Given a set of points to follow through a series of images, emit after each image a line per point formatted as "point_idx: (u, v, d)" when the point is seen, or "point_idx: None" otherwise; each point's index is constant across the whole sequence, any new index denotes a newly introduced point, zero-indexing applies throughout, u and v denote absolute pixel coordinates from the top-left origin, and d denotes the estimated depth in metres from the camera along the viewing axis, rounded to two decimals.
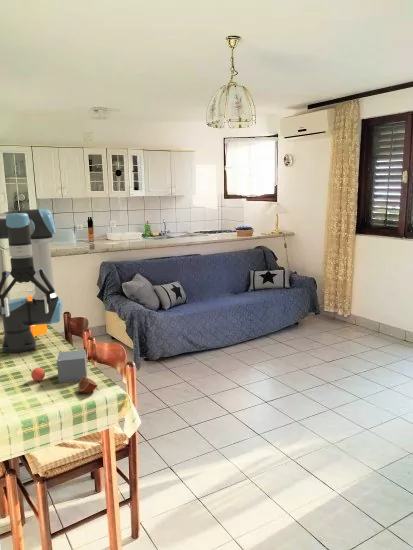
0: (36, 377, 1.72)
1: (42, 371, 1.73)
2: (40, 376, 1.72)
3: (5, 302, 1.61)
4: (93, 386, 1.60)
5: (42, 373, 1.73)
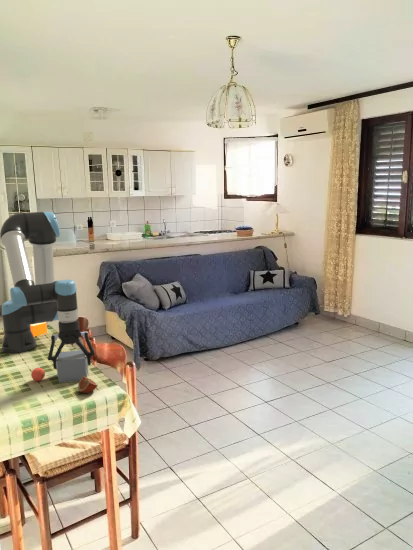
0: (36, 377, 1.72)
1: (42, 371, 1.73)
2: (40, 376, 1.72)
3: None
4: (93, 386, 1.60)
5: (42, 373, 1.73)
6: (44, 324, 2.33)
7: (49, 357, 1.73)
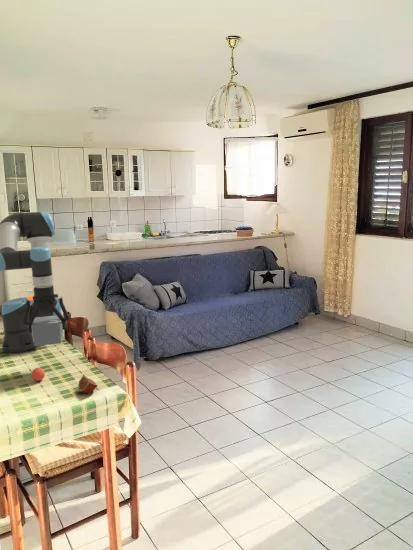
0: (36, 377, 1.72)
1: (42, 371, 1.73)
2: (40, 376, 1.72)
3: None
4: (93, 386, 1.60)
5: (42, 373, 1.73)
6: None
7: (25, 321, 1.79)
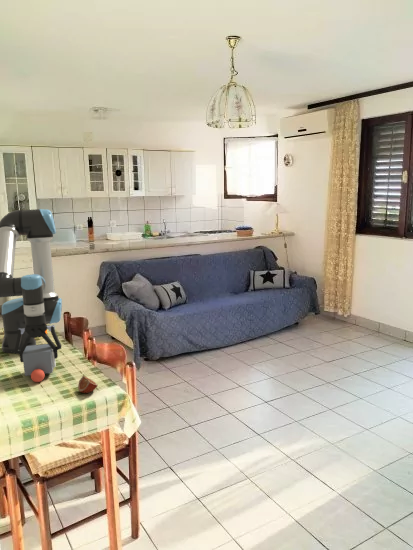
0: (36, 380, 1.71)
1: (42, 374, 1.72)
2: (40, 379, 1.72)
3: None
4: (93, 386, 1.60)
5: (42, 376, 1.72)
6: None
7: (15, 350, 1.76)
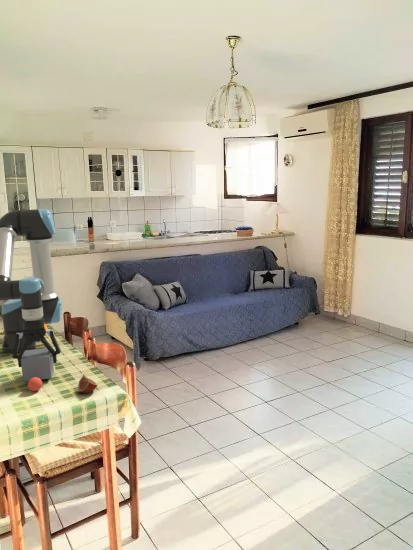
0: None
1: None
2: None
3: None
4: (93, 386, 1.60)
5: None
6: (44, 324, 2.33)
7: (14, 355, 1.72)
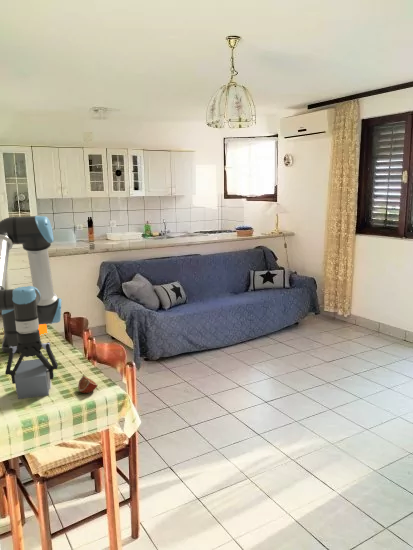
0: None
1: None
2: None
3: None
4: (93, 386, 1.60)
5: None
6: (44, 324, 2.33)
7: (7, 371, 1.58)
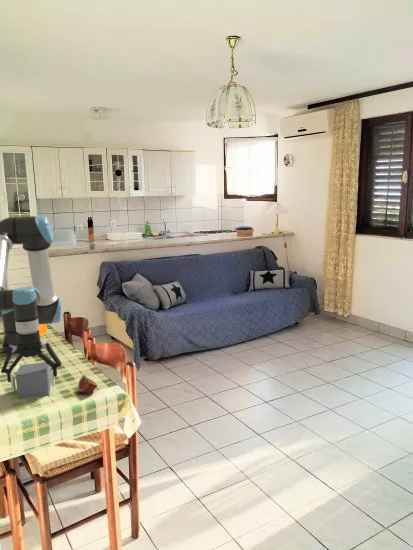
0: None
1: None
2: None
3: (11, 377, 1.59)
4: (93, 386, 1.60)
5: None
6: (44, 324, 2.33)
7: (3, 369, 1.58)
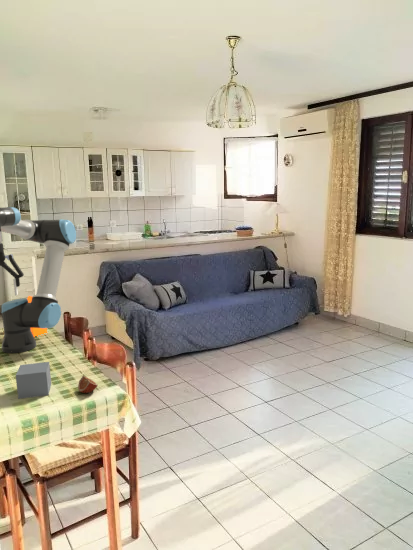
0: None
1: None
2: None
3: None
4: (93, 386, 1.60)
5: None
6: None
7: None
